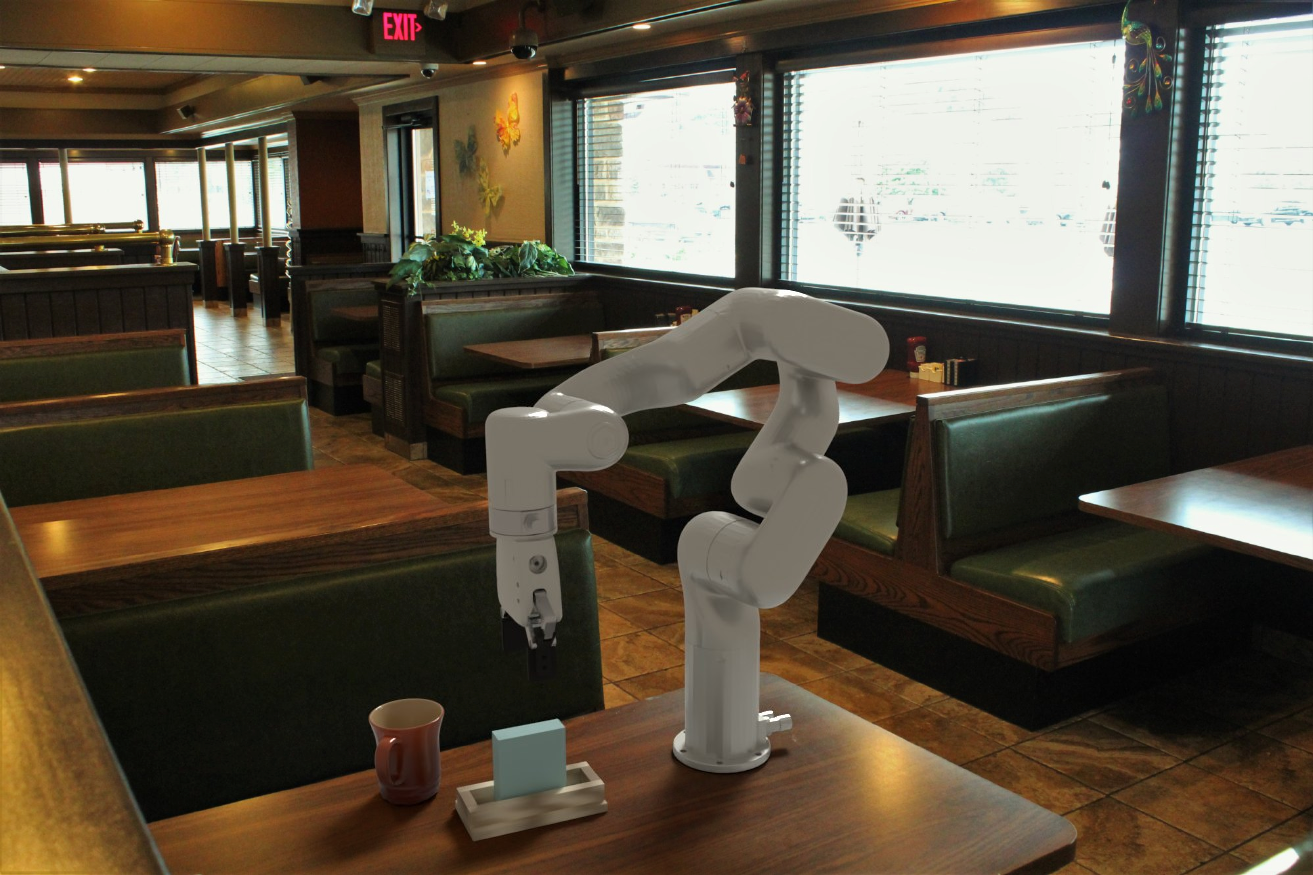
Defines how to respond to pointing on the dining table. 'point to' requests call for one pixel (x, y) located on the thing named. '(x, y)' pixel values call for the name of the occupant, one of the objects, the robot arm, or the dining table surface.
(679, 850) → the dining table surface
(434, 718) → the mug
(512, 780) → the door panel
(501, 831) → the pale wooden tray
